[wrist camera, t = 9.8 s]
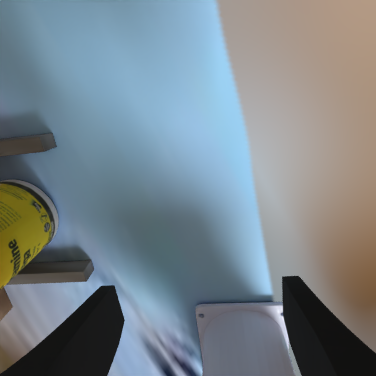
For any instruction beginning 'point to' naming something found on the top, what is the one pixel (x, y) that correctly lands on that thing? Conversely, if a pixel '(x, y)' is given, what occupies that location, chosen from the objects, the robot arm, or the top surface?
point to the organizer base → (47, 270)
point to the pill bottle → (23, 225)
